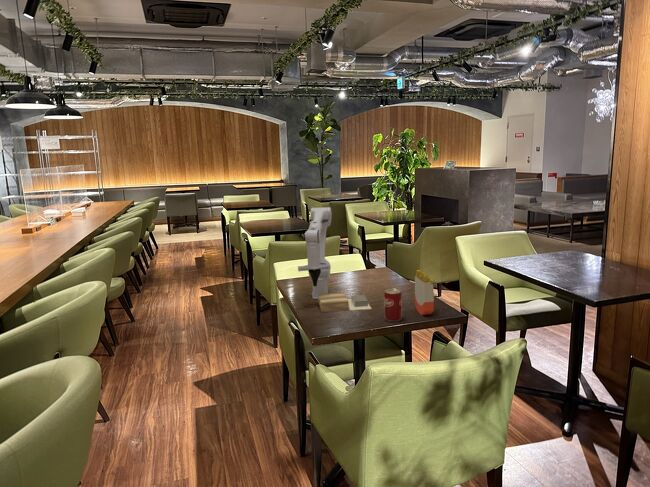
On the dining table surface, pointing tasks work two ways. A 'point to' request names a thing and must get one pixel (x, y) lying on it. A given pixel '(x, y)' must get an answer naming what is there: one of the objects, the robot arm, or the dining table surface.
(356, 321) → the dining table surface
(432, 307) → the french fries container
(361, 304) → the slate tile
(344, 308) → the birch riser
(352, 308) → the placemat
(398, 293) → the soda can
